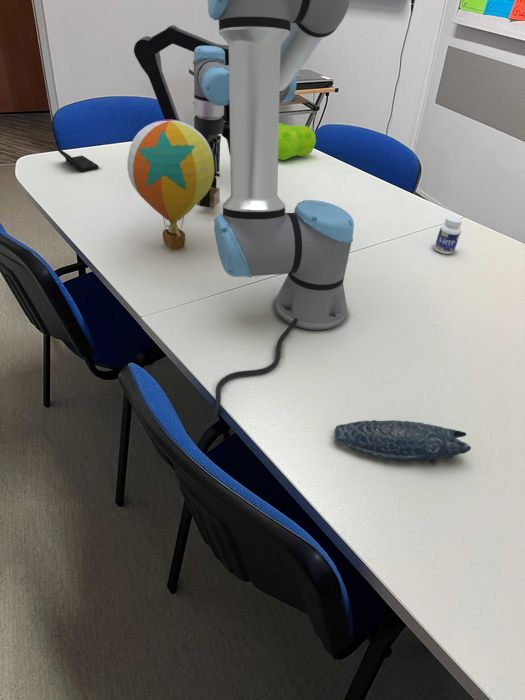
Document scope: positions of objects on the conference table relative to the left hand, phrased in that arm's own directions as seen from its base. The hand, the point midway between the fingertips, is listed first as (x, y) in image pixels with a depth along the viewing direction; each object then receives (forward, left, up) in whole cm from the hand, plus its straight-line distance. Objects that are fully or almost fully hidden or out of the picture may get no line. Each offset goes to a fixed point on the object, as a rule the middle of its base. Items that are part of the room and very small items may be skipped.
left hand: (232, 151), depth 163 cm
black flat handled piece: (-9, -49, -9) cm, 51 cm away
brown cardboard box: (+24, -9, -7) cm, 26 cm away
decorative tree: (-25, +18, -9) cm, 32 cm away
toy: (+46, -18, -9) cm, 50 cm away
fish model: (+114, +18, -9) cm, 115 cm away
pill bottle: (+47, +54, -9) cm, 72 cm away
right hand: (+24, -9, -7) cm, 26 cm away
